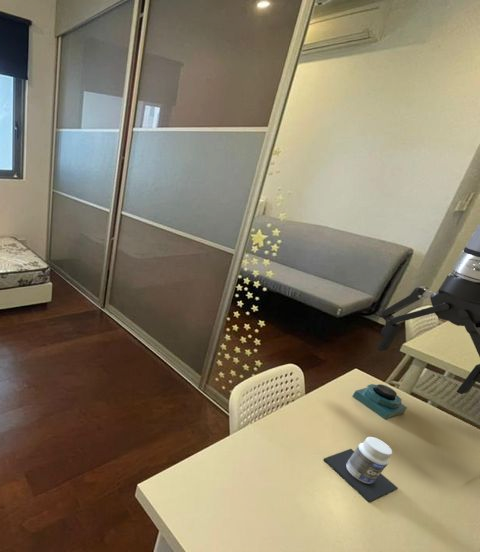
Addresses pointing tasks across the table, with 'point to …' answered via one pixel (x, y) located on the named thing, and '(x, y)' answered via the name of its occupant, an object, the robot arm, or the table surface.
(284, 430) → the table surface
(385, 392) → the button
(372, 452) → the pill bottle
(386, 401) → the button box
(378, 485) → the mat
